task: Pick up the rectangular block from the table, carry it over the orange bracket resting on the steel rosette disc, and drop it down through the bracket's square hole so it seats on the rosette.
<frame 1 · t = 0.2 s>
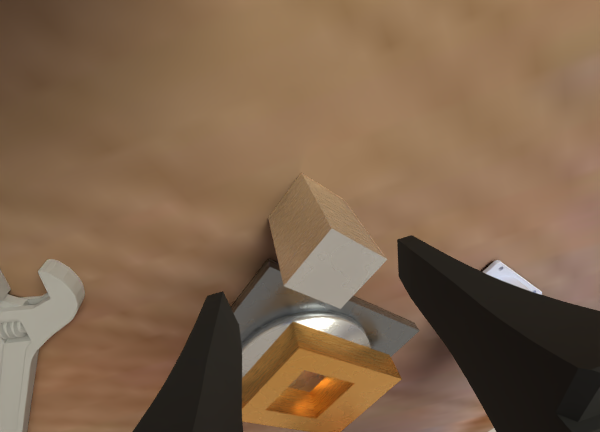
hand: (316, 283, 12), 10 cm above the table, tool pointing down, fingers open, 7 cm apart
rectangular block: (306, 208, 22), on the table
adjustable wrench: (11, 368, 24), on the table
bracket rosette: (299, 350, 30), on the table
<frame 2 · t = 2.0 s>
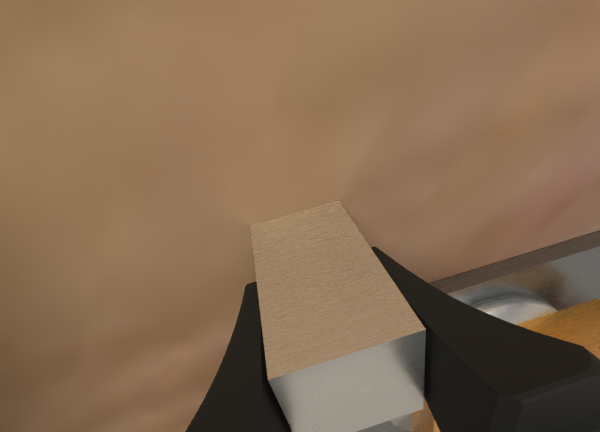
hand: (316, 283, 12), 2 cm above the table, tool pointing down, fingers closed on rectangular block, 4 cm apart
rectangular block: (303, 247, 14), on the table, touching gripper
bracket rosette: (459, 352, 22), on the table
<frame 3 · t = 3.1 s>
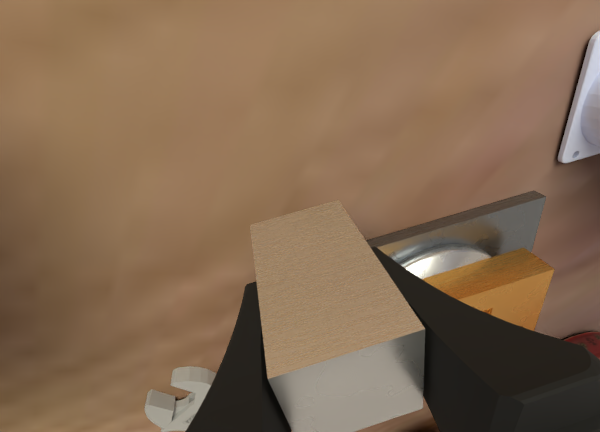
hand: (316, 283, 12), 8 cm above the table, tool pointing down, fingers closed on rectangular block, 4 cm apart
rectangular block: (303, 247, 14), point 5 cm above the table, touching gripper
decorative planter: (557, 361, 38), on the table
adjustable wrench: (229, 429, 31), on the table
bracket rosette: (419, 299, 26), on the table
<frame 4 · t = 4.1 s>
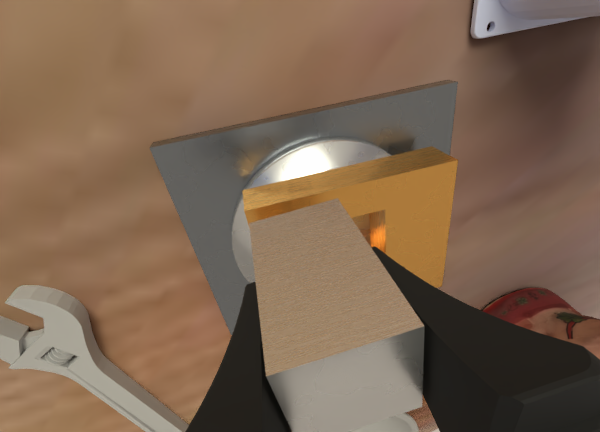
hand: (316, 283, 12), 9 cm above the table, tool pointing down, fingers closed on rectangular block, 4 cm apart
rectangular block: (302, 246, 14), point 7 cm above the table, touching gripper
decorative planter: (502, 325, 35), on the table
dish: (340, 407, 37), on the table
adjustable wrench: (116, 381, 27), on the table
bracket rosette: (322, 221, 22), on the table
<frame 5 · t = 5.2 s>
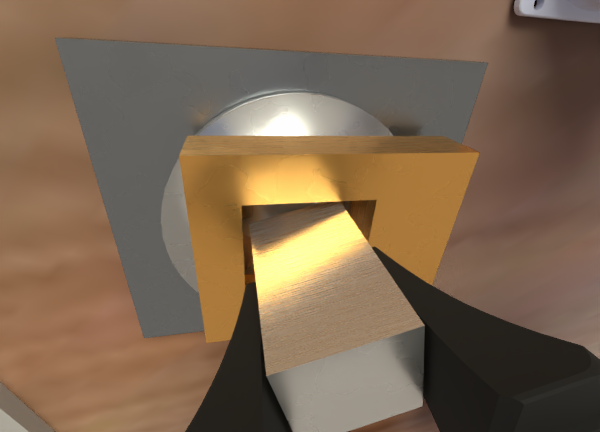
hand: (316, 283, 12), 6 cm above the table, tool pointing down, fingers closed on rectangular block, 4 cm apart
rectangular block: (302, 245, 14), point 4 cm above the table, touching gripper
bracket rosette: (290, 209, 17), on the table
when the fingers open (6 cm above the table, at t = 6.1 s): rectangular block drops 1 cm, resting on bracket rosette.
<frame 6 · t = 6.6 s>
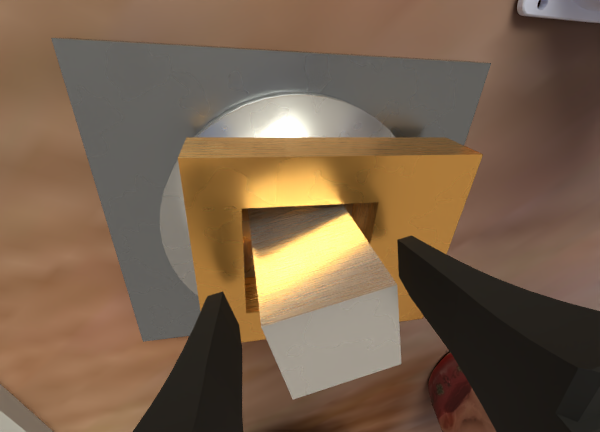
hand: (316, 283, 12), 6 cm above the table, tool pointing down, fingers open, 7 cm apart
rectangular block: (297, 229, 15), point 2 cm above the table, touching bracket rosette
decorative planter: (464, 372, 31), on the table
bracket rosette: (290, 211, 17), on the table
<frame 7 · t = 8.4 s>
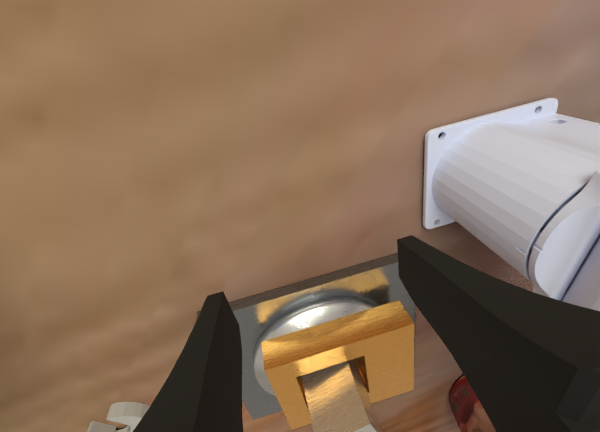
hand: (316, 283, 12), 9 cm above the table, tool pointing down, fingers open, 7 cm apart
rectangular block: (326, 357, 27), point 2 cm above the table, touching bracket rosette
decorative planter: (478, 386, 41), on the table
bracket rosette: (321, 339, 29), on the table
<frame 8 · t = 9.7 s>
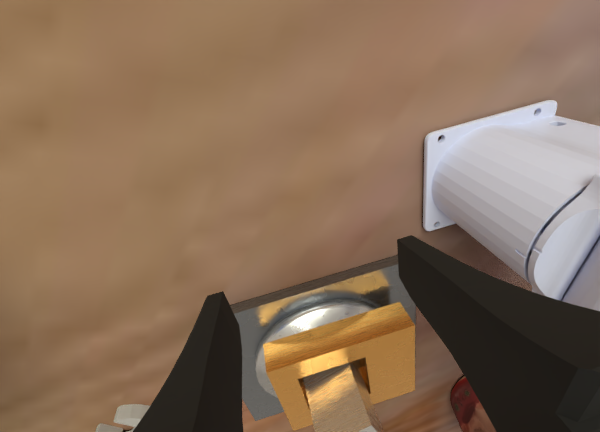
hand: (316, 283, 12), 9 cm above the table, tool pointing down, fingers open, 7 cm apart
rectangular block: (328, 359, 27), point 2 cm above the table, touching bracket rosette
decorative planter: (479, 386, 41), on the table
bracket rosette: (322, 341, 29), on the table
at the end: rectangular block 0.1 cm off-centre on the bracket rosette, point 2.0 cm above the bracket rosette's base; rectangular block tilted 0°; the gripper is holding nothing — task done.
